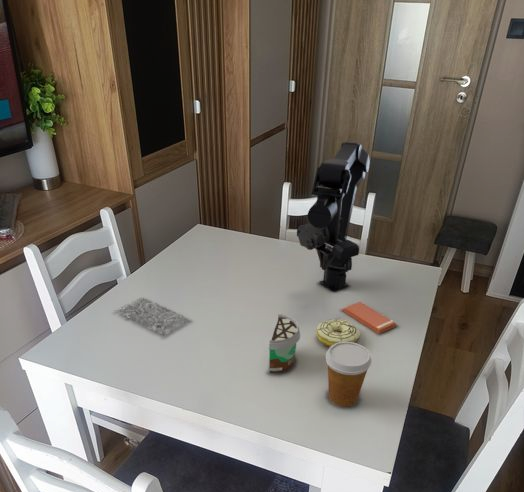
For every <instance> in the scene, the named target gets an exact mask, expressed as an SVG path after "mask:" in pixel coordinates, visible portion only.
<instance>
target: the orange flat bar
mask: <svg viewBox="0 0 524 492" xmlns="http://www.w3.org/2000/svg"><path fill="white" fill-rule="evenodd" d="M342 312H344V313H345V314H347V315H348V316H350V317H351V318H353V319H355V320H356V321H358V322H359V323H360V324H362V325H363V326H366V327H367V328H369V329H371V330H372V331H373V332H374V333H377V334H378V335H381V334H382V333H383V334H384V333H385V332H387V331H389V330H391V329H394V328H396V327H397V324H396V322H395V321H394V320H392V319H390V318H389V317H387V316H385V315H383V314H382V313H381V312H378V311H377V310H375V309H374V308H372V307H370V306H368V305H366V304H365V303H363V302H362V301H358V302H356V303H353V304H351V305H348V306H345V307H344V308H343V309H342Z"/></svg>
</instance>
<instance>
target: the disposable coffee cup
mask: <svg viewBox="0 0 524 492" xmlns="http://www.w3.org/2000/svg"><path fill="white" fill-rule="evenodd" d="M372 360H373V359H372V357H371V352H370V351H369V349H367V348H366V347H365V346H363V344H359V343H357V342H355V343H353V342H339V343H335V344H334V345H332V346H331V347H328V350H327V351H326V353H325V361H326V365H327V383H328V384H327V385H328V386H327V387H328V399H329V400H330V402H331V403H333V404H334V405H336V406H339V407H342V408H344V407H345V408H347V407H352V406H354V405H356V403H357V402H358V399H359V396H360V393H361V390H362V387H363V385H364V382H365V378H366V375H367V372H368V370H369V368H370V367H371V366H372V363H373V361H372Z"/></svg>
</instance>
